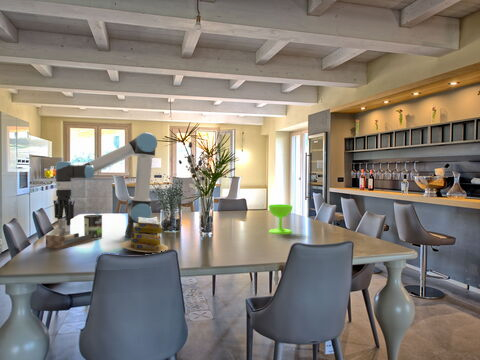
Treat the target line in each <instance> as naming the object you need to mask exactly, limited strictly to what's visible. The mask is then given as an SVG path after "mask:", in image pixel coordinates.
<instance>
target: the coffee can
mask: <svg viewBox="0 0 480 360" xmlns="http://www.w3.org/2000/svg"><path fill="white" fill-rule="evenodd" d="M83 218H84V219H83V220H84V221H83V222H84V225H83V226H84V227H83V228H84V234H83V236H85V235H89V234H92V241H93V240H95V241H96V240H101V239H103V214H86V215H84V216H83Z"/></svg>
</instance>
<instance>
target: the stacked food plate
mask: <svg viewBox="0 0 480 360" xmlns="http://www.w3.org/2000/svg"><path fill="white" fill-rule="evenodd" d="M162 233H163V226H162V224H161V222H160V219H159V218H158V216H154V217H150V218H142V217H138V223H133V232H132V234H131V237H130V240H124V241H122V242H120V244H119V245H120V246H121V247H122V248H124V249H126V250H130V251H135V252H141V253H142V252H143V253H161V251H163V252H166V251H168V250H169V247H168V246H167V245H166V244H163V243H161V240H162V238H161V235H158V234H162ZM165 250H166V251H165Z"/></svg>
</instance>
